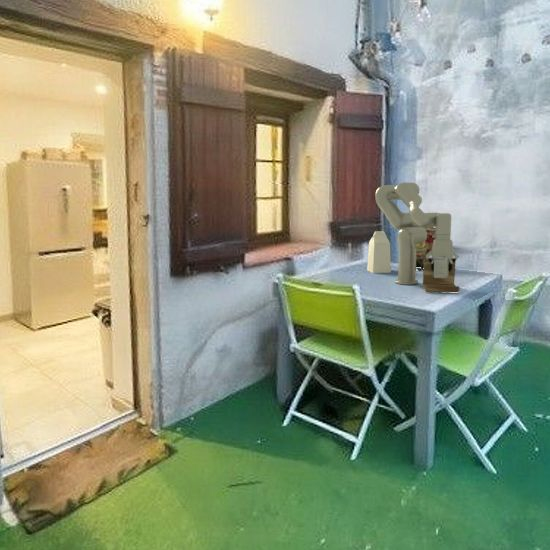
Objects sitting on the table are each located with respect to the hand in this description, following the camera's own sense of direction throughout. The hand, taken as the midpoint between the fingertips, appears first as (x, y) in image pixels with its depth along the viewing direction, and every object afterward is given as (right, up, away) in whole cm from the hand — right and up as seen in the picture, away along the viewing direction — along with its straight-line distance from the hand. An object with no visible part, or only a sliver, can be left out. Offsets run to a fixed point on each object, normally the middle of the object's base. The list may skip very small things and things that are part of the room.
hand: (441, 270), depth 244 cm
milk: (-19, 0, +60) cm, 63 cm away
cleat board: (0, -10, +2) cm, 10 cm away
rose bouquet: (+10, +2, +67) cm, 68 cm away
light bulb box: (0, -3, +1) cm, 3 cm away
